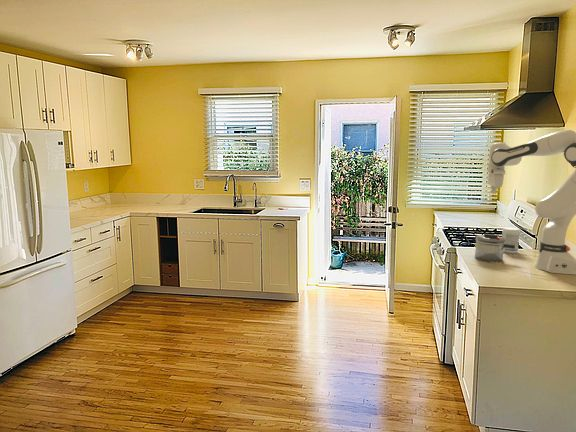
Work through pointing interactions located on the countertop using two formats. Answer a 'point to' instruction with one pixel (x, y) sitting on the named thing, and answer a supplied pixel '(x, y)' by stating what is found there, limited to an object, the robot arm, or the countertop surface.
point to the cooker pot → (491, 251)
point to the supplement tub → (511, 238)
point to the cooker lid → (490, 238)
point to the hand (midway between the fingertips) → (493, 193)
